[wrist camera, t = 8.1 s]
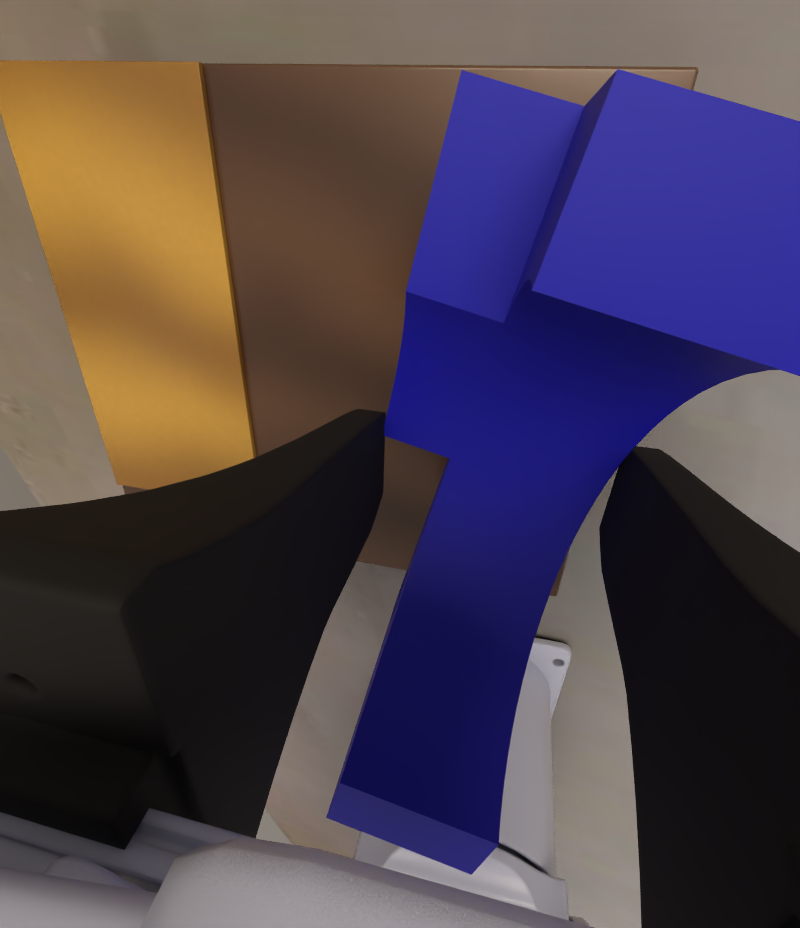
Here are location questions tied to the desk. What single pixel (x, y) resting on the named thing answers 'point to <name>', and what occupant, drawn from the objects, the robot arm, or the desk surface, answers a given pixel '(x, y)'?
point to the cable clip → (551, 393)
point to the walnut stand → (244, 248)
